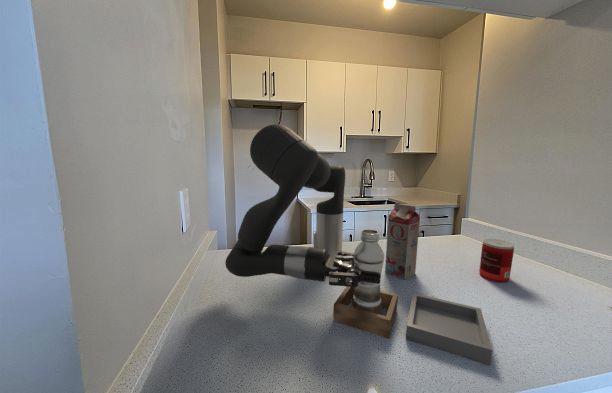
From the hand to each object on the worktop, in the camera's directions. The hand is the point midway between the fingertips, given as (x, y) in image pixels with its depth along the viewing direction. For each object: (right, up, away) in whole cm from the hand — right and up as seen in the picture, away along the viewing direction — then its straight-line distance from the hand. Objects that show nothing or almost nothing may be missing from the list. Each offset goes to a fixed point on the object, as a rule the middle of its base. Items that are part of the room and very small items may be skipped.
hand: (379, 271), depth 57 cm
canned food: (+42, -8, +22) cm, 48 cm away
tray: (+13, -12, -2) cm, 18 cm away
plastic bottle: (-2, -11, +2) cm, 11 cm away
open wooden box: (-2, -11, +2) cm, 11 cm away
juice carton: (+13, -8, +24) cm, 29 cm away
